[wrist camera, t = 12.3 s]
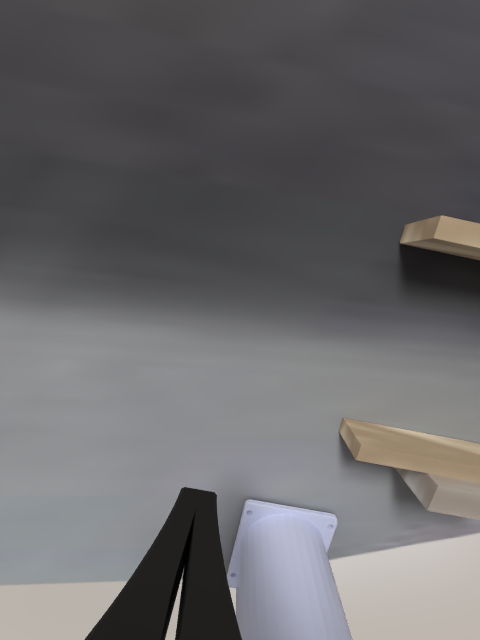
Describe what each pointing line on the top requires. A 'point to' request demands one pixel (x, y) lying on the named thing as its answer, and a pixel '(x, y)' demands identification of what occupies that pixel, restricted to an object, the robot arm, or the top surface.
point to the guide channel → (420, 448)
